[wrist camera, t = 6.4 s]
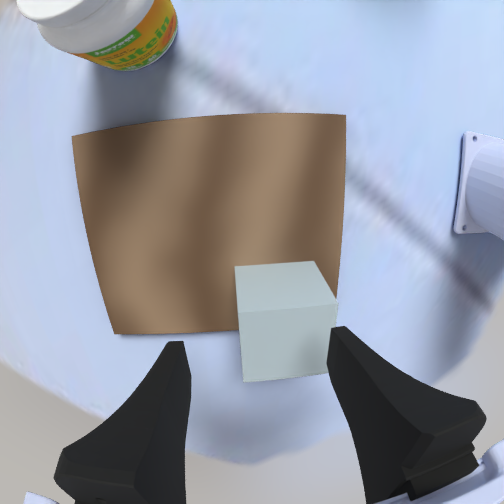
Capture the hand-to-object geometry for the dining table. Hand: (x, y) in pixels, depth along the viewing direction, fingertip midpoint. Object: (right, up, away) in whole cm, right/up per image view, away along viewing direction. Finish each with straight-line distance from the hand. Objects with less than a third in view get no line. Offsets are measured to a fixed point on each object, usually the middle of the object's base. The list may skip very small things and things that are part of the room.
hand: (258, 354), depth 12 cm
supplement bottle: (-7, +17, +2) cm, 19 cm away
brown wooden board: (-3, +5, +7) cm, 9 cm away
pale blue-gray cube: (+1, +1, +8) cm, 8 cm away
